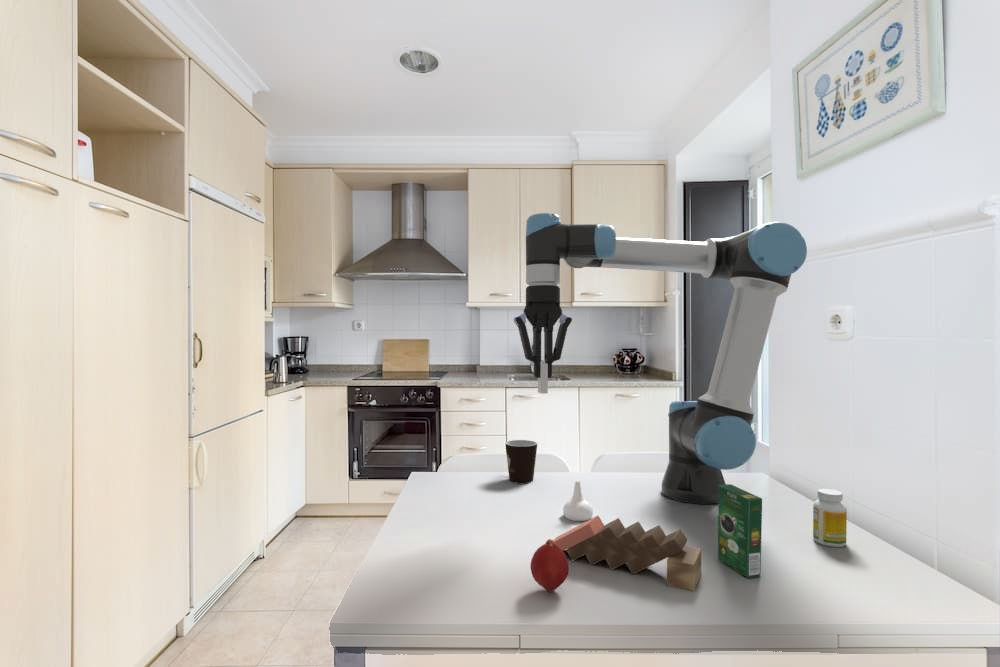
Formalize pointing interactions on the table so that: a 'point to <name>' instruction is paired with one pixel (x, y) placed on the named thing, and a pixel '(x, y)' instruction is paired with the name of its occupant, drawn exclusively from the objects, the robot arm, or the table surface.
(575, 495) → the garlic bulb
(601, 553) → the domino
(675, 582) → the end block
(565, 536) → the domino
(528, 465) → the coffee mug
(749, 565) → the coffee box
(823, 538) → the supplement bottle
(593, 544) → the domino
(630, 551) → the domino
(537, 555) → the onion
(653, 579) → the table surface
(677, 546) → the domino
